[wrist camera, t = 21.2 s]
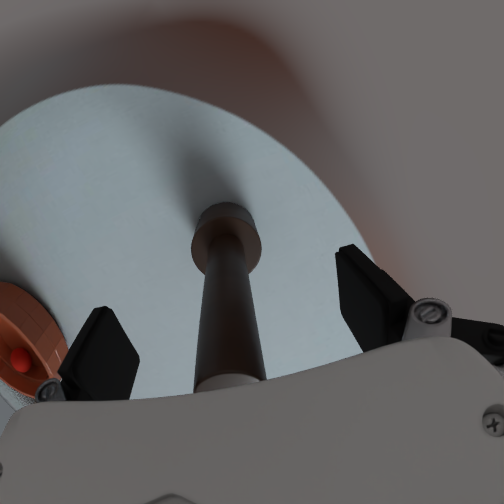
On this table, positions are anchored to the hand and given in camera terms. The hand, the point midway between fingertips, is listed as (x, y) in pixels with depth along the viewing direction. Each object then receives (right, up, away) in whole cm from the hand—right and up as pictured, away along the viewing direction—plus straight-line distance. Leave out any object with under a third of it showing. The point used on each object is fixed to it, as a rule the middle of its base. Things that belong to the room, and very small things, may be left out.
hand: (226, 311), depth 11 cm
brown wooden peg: (-1, +4, +10) cm, 11 cm away
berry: (-26, -10, +12) cm, 31 cm away
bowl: (-25, -7, +13) cm, 29 cm away
